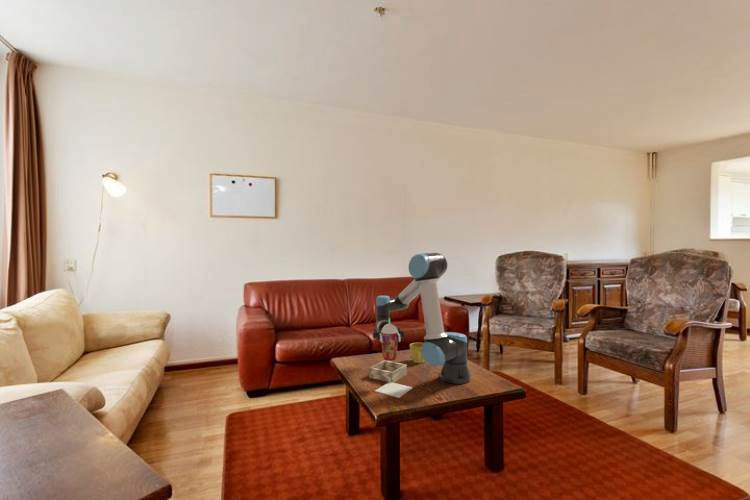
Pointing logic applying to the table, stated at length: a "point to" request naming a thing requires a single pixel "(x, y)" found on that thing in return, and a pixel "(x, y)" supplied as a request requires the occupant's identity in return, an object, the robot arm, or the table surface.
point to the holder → (388, 371)
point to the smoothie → (389, 341)
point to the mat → (394, 389)
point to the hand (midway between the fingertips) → (390, 339)
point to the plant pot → (417, 352)
